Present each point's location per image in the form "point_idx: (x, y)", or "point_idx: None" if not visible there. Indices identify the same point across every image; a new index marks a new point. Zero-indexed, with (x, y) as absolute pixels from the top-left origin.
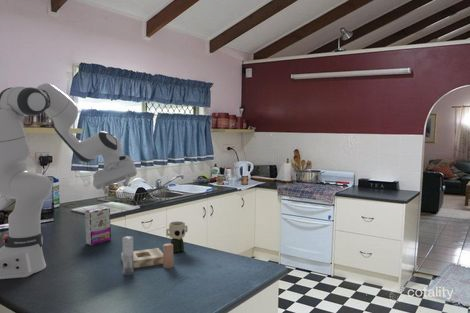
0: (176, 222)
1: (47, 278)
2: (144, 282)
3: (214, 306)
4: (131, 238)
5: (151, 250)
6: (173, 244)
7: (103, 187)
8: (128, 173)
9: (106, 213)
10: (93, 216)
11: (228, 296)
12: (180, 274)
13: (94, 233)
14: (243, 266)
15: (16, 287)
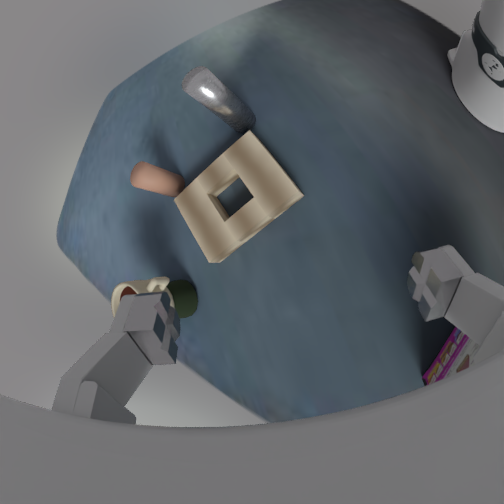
0: None
1: (402, 53)
2: None
3: (111, 93)
4: (183, 79)
5: (219, 235)
6: (173, 284)
7: (490, 292)
8: (19, 401)
9: None
10: None
11: (99, 121)
12: (149, 157)
13: None
14: (83, 229)
15: (417, 20)
